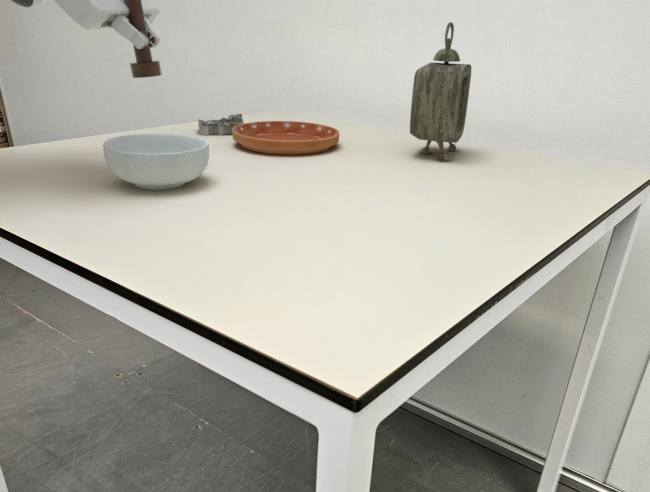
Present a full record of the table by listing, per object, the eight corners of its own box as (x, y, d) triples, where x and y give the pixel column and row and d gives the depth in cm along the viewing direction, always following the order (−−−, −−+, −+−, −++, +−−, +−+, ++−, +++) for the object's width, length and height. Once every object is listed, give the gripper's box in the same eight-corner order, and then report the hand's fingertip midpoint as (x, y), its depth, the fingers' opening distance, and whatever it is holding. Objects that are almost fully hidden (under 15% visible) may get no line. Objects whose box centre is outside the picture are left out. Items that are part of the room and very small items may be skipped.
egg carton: (244, 131, 146) (244, 113, 144) (243, 137, 139) (243, 118, 137) (199, 130, 145) (198, 112, 143) (196, 136, 138) (195, 117, 136)
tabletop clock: (450, 165, 119) (467, 23, 107) (405, 160, 121) (417, 22, 110) (461, 151, 131) (477, 22, 119) (420, 147, 133) (432, 21, 122)
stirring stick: (135, 78, 91) (112, -38, 84) (130, 76, 94) (108, -34, 88) (164, 75, 92) (143, -39, 85) (158, 73, 96) (138, -36, 89)
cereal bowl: (205, 199, 94) (202, 153, 91) (97, 199, 93) (89, 152, 90) (215, 172, 109) (213, 132, 106) (122, 172, 108) (116, 131, 105)
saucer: (326, 135, 143) (326, 119, 141) (350, 157, 123) (351, 138, 121) (229, 137, 138) (228, 120, 136) (237, 160, 118) (236, 140, 117)
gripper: (105, -12, 98) (167, 56, 101) (26, -17, 81) (104, 66, 84) (126, -44, 96) (190, 27, 99) (50, -56, 78) (130, 31, 81)
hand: (150, 45), depth 91 cm, fingers closed on stirring stick, 2 cm apart
